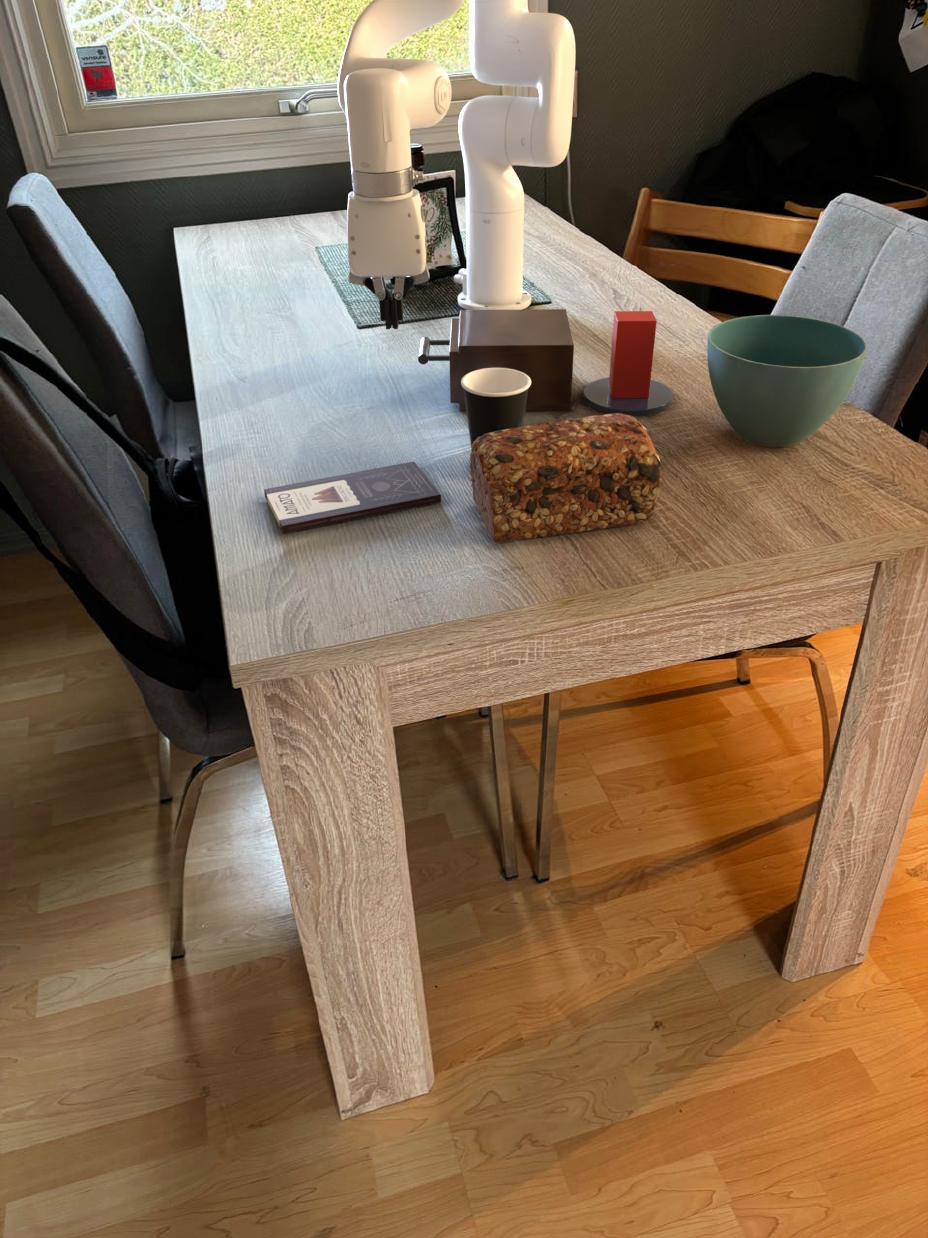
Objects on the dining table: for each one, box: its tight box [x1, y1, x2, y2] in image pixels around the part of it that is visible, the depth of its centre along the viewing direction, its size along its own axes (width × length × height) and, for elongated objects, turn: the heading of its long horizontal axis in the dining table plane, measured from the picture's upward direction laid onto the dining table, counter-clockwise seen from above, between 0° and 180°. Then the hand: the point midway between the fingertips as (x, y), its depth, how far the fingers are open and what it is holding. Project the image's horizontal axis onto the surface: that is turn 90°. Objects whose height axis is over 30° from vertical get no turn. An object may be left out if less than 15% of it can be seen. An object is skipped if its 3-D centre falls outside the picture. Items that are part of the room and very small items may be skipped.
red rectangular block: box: [608, 310, 657, 398], centre depth 130 cm, size 5×4×10 cm
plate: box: [583, 376, 674, 417], centre depth 133 cm, size 12×12×1 cm
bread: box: [469, 413, 663, 544], centre depth 104 cm, size 19×11×10 cm, turn 103°
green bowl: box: [706, 314, 868, 448], centre depth 120 cm, size 18×18×12 cm
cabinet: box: [458, 308, 575, 413], centre depth 133 cm, size 15×14×9 cm
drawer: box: [417, 317, 460, 404], centre depth 133 cm, size 18×13×7 cm
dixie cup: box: [461, 368, 531, 448], centre depth 113 cm, size 8×8×11 cm
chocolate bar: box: [263, 461, 442, 534], centre depth 110 cm, size 9×1×18 cm
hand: (392, 325), depth 133 cm, fingers closed
